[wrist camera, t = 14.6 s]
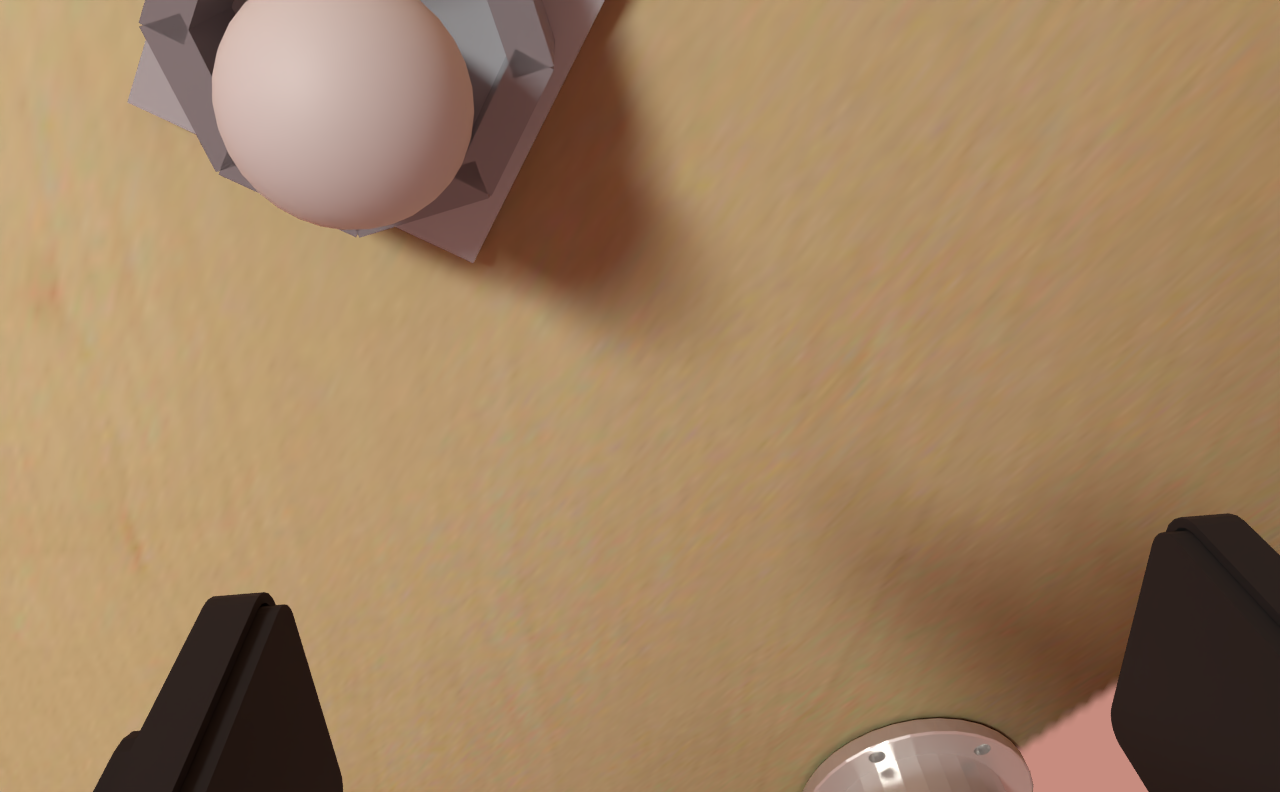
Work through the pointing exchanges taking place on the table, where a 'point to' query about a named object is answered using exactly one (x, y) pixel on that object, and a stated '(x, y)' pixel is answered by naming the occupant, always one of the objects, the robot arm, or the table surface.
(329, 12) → the lightbulb
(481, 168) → the socket
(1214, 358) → the table surface
